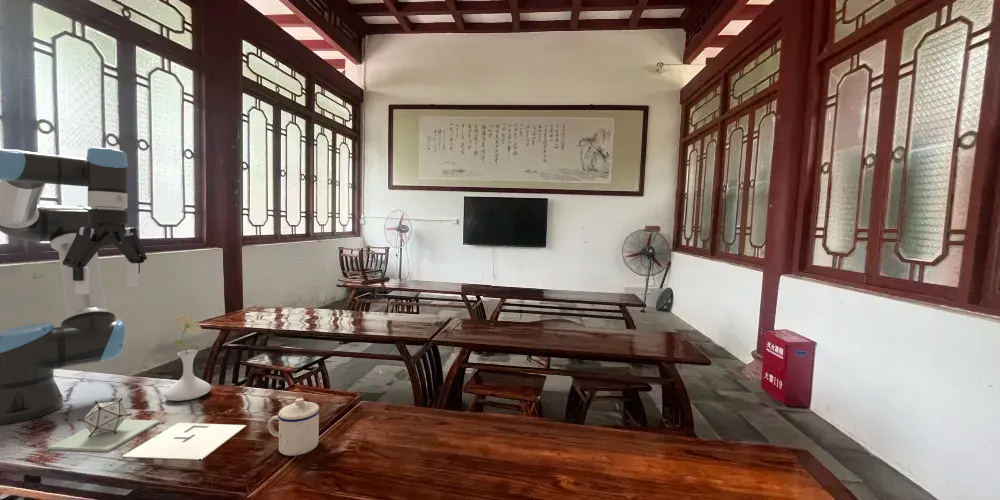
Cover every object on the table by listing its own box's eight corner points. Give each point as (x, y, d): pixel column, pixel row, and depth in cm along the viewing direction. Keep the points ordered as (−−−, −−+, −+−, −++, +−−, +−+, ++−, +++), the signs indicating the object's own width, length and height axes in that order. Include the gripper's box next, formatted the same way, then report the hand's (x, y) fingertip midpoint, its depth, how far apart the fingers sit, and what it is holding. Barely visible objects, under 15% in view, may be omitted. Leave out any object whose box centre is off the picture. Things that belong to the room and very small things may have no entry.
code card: (121, 457, 91) (121, 456, 91) (178, 423, 107) (178, 422, 107) (201, 460, 91) (201, 458, 91) (246, 425, 107) (246, 425, 107)
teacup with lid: (326, 437, 103) (326, 392, 102) (308, 457, 93) (308, 408, 93) (279, 435, 103) (279, 390, 102) (256, 455, 94) (257, 406, 93)
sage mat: (47, 449, 93) (47, 446, 93) (106, 421, 107) (106, 418, 107) (108, 451, 93) (108, 449, 93) (159, 422, 107) (159, 420, 107)
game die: (106, 451, 99) (92, 430, 93) (78, 435, 100) (62, 414, 94) (143, 419, 106) (132, 399, 100) (117, 405, 107) (105, 384, 101)
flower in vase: (217, 395, 126) (217, 315, 124) (173, 408, 116) (172, 321, 115) (198, 385, 132) (198, 309, 131) (155, 396, 123) (154, 315, 122)
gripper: (71, 206, 93) (73, 298, 94) (162, 211, 118) (162, 284, 119) (39, 205, 93) (41, 297, 94) (136, 210, 118) (137, 283, 119)
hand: (109, 290), depth 107 cm, fingers open, 13 cm apart
